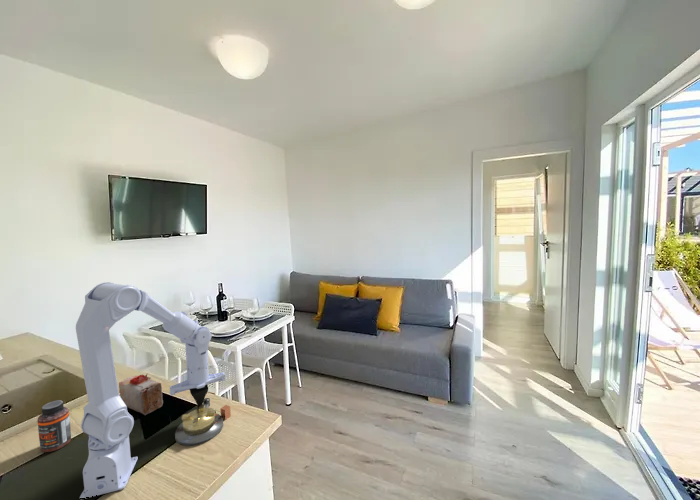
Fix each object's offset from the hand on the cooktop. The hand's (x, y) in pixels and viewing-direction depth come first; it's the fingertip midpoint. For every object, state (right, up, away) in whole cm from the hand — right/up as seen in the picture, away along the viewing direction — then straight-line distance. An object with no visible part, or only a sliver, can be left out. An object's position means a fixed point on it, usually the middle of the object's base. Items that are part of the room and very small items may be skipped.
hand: (199, 409), depth 91 cm
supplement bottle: (-33, -4, -10) cm, 34 cm away
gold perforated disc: (+2, -1, -3) cm, 4 cm away
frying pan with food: (+3, -3, -5) cm, 6 cm away
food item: (-22, -2, +7) cm, 23 cm away
